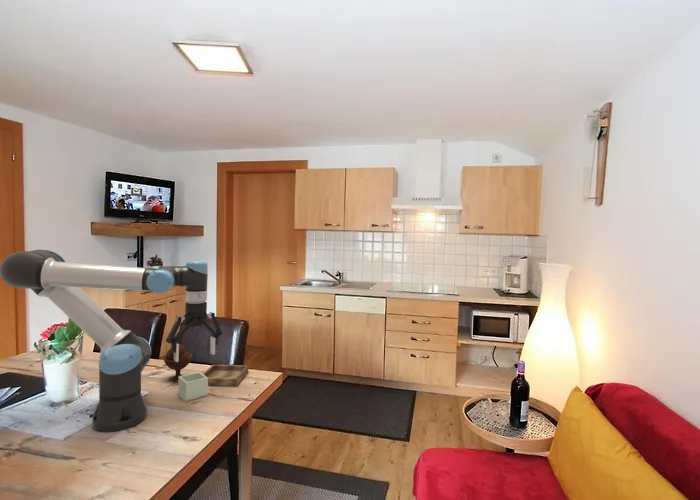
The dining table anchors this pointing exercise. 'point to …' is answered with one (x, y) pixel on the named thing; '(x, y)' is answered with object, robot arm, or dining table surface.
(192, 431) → the dining table surface
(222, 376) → the walnut tray
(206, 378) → the sage crate
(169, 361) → the ice cream bowl
